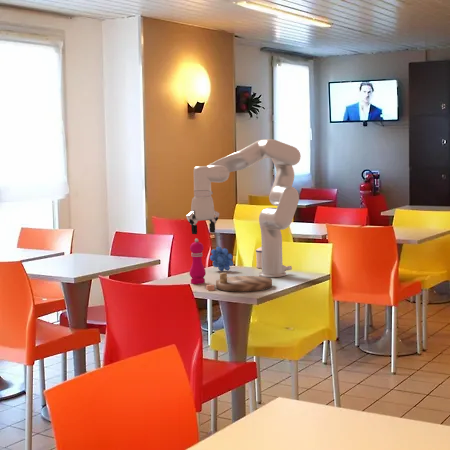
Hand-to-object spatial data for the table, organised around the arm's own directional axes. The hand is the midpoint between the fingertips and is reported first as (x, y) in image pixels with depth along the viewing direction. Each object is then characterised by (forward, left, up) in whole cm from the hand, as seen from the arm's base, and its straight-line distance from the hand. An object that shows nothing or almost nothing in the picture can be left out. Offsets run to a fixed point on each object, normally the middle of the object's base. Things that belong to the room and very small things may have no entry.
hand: (203, 233), depth 351 cm
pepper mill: (+2, -4, -23) cm, 23 cm away
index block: (+4, +15, -23) cm, 27 cm away
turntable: (-10, +18, -23) cm, 31 cm away
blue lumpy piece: (-21, -28, -23) cm, 42 cm away
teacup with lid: (-45, -27, -23) cm, 58 cm away
